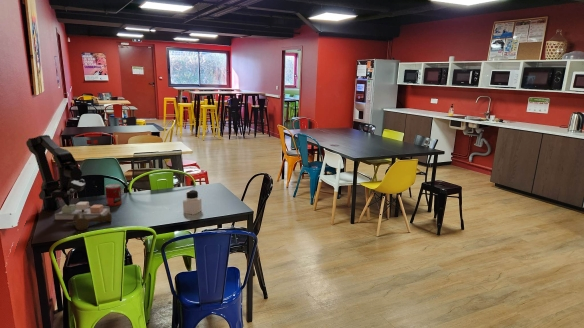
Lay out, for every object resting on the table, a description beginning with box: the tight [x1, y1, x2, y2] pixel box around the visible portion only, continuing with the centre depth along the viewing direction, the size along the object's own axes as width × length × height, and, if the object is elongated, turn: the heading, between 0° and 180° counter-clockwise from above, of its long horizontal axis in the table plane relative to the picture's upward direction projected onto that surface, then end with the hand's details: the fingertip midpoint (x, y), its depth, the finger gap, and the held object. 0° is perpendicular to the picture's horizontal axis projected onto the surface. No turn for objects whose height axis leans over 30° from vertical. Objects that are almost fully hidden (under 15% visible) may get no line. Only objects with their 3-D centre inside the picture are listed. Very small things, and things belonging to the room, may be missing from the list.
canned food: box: [105, 183, 123, 207], centre depth 214 cm, size 8×8×11 cm
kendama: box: [65, 211, 113, 231], centre depth 184 cm, size 6×10×20 cm
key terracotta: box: [90, 204, 104, 213], centre depth 197 cm, size 5×5×3 cm
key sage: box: [61, 204, 76, 213], centre depth 196 cm, size 5×5×3 cm
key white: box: [75, 201, 90, 210], centre depth 196 cm, size 5×5×3 cm
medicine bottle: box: [182, 189, 203, 216], centre depth 205 cm, size 7×7×12 cm
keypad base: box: [54, 205, 111, 220], centre depth 197 cm, size 22×12×4 cm, turn 95°
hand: (68, 205), depth 196 cm, fingers closed
